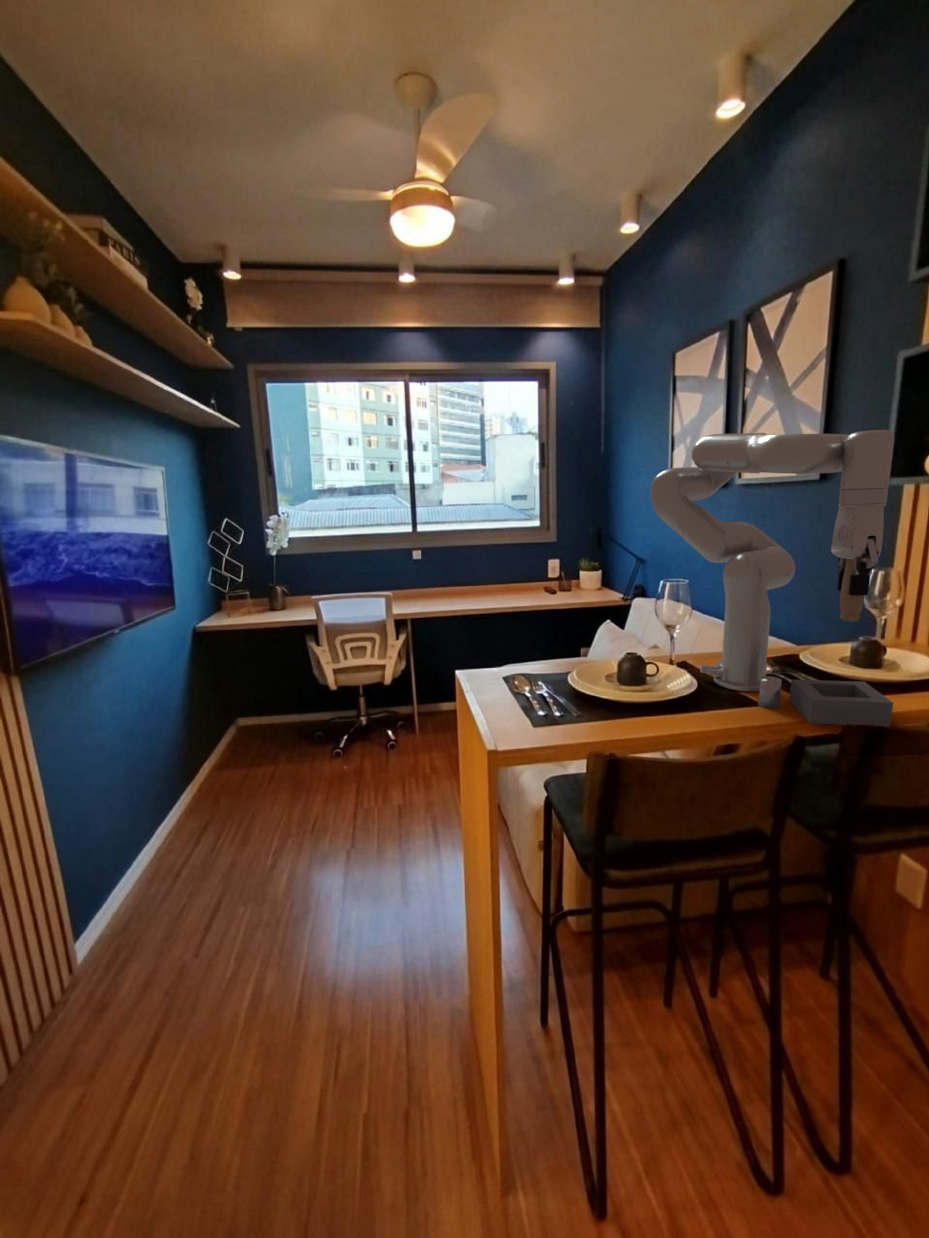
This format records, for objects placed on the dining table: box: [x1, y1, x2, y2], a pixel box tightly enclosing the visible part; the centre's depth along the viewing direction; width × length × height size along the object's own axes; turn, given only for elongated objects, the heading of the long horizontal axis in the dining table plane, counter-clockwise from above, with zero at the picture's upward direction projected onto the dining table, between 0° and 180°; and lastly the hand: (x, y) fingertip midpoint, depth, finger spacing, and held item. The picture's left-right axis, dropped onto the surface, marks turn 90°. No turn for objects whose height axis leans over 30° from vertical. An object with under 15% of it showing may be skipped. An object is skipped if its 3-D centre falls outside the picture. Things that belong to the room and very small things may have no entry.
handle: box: [839, 555, 867, 623], centre depth 111 cm, size 5×6×15 cm
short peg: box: [757, 675, 782, 710], centre depth 121 cm, size 4×4×6 cm
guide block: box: [789, 679, 894, 728], centre depth 116 cm, size 14×12×5 cm
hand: (852, 591), depth 112 cm, fingers closed on handle, 4 cm apart
